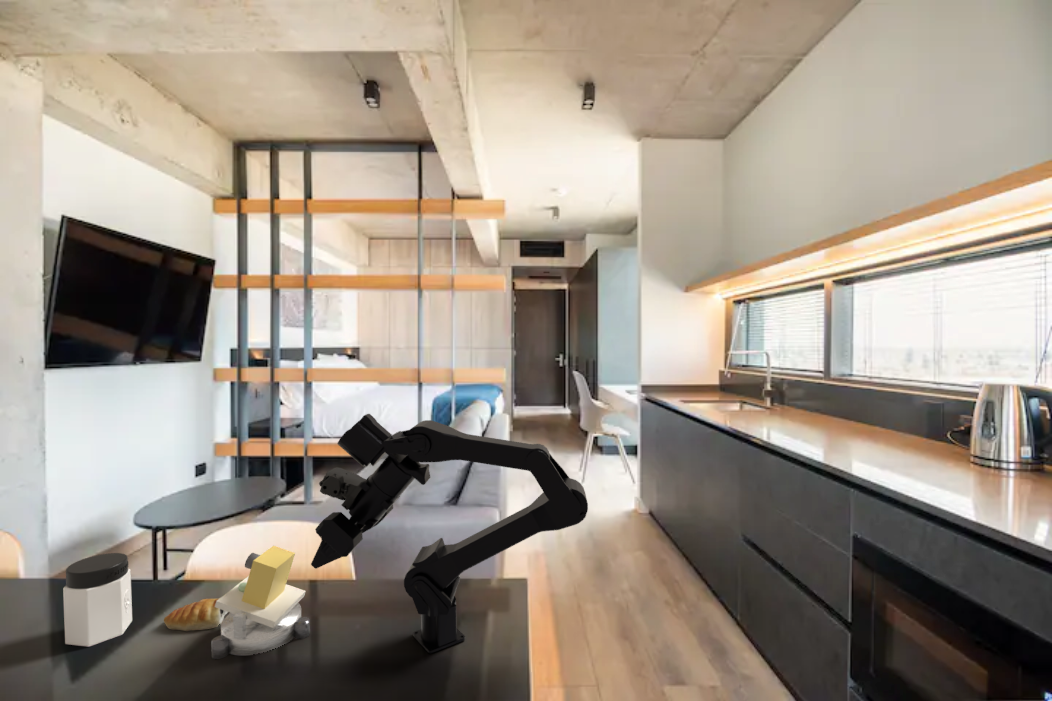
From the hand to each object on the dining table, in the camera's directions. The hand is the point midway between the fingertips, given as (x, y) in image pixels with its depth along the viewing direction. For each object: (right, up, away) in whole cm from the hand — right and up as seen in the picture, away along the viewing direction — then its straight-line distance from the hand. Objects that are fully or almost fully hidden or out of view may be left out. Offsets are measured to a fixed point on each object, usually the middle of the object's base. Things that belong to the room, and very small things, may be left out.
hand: (326, 554), depth 88 cm
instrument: (-11, -8, +1) cm, 14 cm away
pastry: (-24, -14, +5) cm, 28 cm away
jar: (-39, -14, +2) cm, 41 cm away
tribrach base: (-11, -14, +1) cm, 18 cm away
